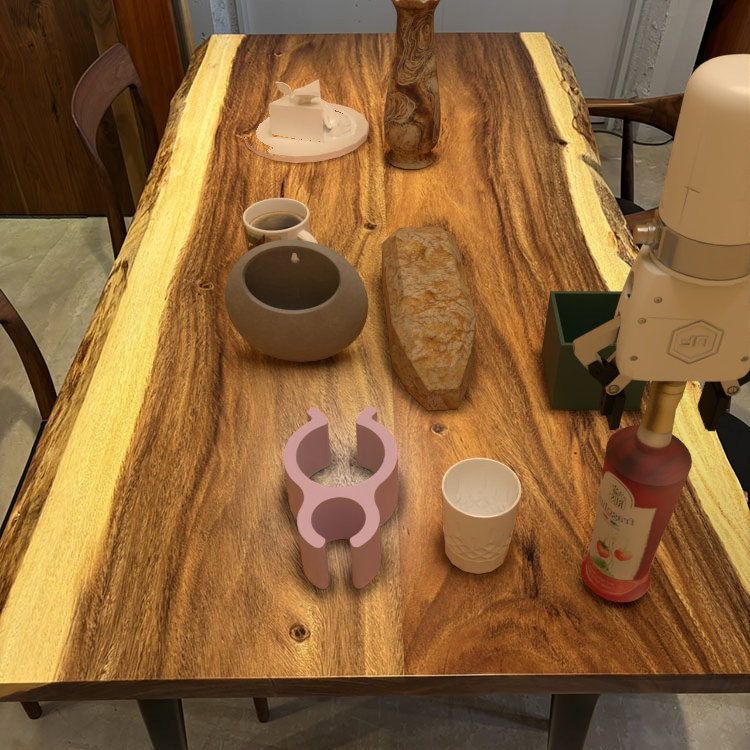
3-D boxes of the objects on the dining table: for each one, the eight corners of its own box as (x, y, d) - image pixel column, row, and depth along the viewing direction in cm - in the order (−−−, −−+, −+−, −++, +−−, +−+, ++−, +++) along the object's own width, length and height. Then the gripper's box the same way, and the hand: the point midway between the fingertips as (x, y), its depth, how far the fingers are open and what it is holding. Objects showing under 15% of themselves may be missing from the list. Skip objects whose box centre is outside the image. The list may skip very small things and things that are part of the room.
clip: (401, 587, 86) (401, 546, 82) (280, 590, 86) (273, 548, 82) (396, 447, 101) (396, 405, 97) (293, 449, 101) (288, 407, 97)
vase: (373, 157, 159) (368, -10, 139) (414, 140, 164) (416, -23, 144) (410, 177, 153) (411, 5, 133) (452, 158, 158) (459, -10, 138)
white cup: (450, 585, 86) (454, 523, 80) (430, 526, 92) (432, 464, 86) (523, 571, 87) (532, 509, 81) (499, 513, 93) (506, 451, 87)
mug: (313, 254, 134) (308, 192, 127) (327, 297, 125) (323, 233, 118) (247, 264, 132) (238, 202, 125) (257, 308, 123) (248, 244, 116)
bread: (378, 257, 133) (377, 201, 126) (447, 253, 133) (449, 197, 127) (398, 412, 106) (397, 351, 99) (484, 407, 106) (489, 346, 100)
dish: (347, 168, 155) (344, 110, 148) (223, 154, 161) (214, 97, 154) (383, 114, 173) (382, 59, 166) (270, 103, 179) (264, 49, 171)
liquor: (665, 589, 85) (737, 385, 67) (612, 623, 82) (672, 419, 64) (614, 541, 90) (668, 337, 72) (562, 571, 87) (604, 367, 69)
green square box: (639, 410, 105) (655, 345, 98) (550, 409, 106) (561, 345, 99) (623, 354, 113) (637, 291, 107) (541, 354, 114) (550, 290, 107)
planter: (230, 375, 112) (209, 256, 100) (239, 342, 117) (220, 225, 105) (368, 377, 111) (364, 257, 99) (371, 343, 117) (367, 226, 104)
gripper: (592, 269, 57) (560, 450, 69) (853, 270, 56) (776, 452, 68) (576, 213, 63) (549, 389, 74) (813, 213, 62) (749, 390, 74)
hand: (658, 418), depth 71 cm, fingers open, 7 cm apart
